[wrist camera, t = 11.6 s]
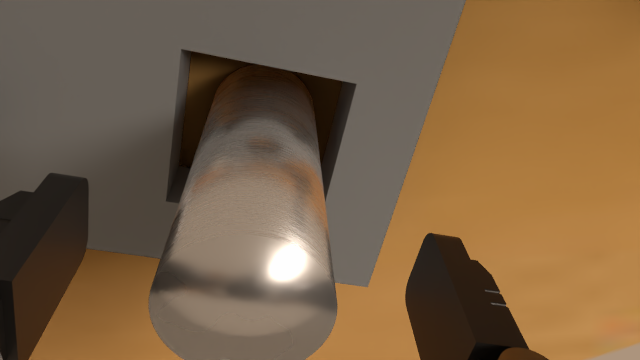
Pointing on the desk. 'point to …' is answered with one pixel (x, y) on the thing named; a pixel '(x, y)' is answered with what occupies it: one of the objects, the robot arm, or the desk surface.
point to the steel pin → (250, 231)
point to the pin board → (171, 91)
